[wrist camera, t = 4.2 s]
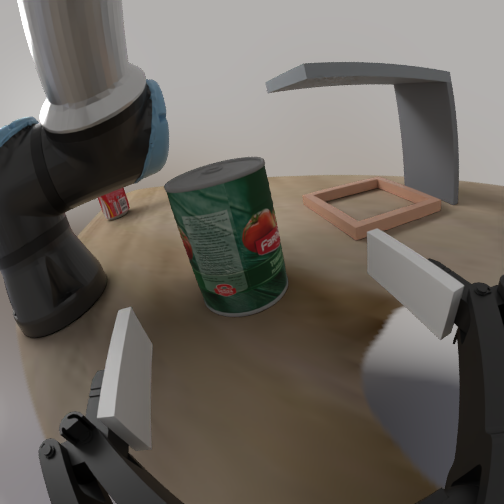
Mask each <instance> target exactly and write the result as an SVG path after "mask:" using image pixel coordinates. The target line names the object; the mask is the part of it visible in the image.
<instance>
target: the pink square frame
mask: <svg viewBox="0 0 504 504" xmlns="http://www.w3.org/2000/svg"><path fill="white" fill-rule="evenodd" d="M375 188H380V189H382V190H385V191H387V192H390V193H392V194H395V195H397V196H399V197H402V198H404V199H406V200H409V201H411V202H413V203H415V204H412V205H409V206H406V207H402V208H399V209H396V210H393V211H390V212H387V213H383V214H380V215H377V216H374V217H371V218H367V219H364V220H361V221H357V220H355V219H354V218H352V217H350V216H349V215H347V214H345V213H344V212H342V211H340V210H338V209H337V208H335V207H333V206H332V205H330V204H328V203H326V201H330V200H333V199H337V198H341V197H344V196H348V195H352V194H356V193H360V192H363V191H367V190H371V189H375ZM302 196H303V202H304V205H305V206H307V207H308V208H310V209H311V210H313V211H314V212H316V213H317V214H319V215H320V216H322V217H323V218H325V219H326V220H328V221H329V222H330V223H332V224H333V225H335V226H336V227H338V228H339V229H341V230H342V231H343V232H345V233H346V234H348V235H349V236H350V237H352V238H353V239H355V240H359V239H362V238H365V237H367V232H368V231H371V230H374V229H377V228H378V229H379V230H381V231H385V230H388V229H391V228H394V227H396V226H399V225H402V224H405V223H408V222H410V221H413V220H416V219H419V218H421V217H424V216H427V215H430V214H432V213H435V212H438V211H441V199H438V198H436V197H433V196H431V195H428V194H426V193H423V192H421V191H418V190H415V189H413V188H410V187H407V186H405V185H402V184H399V183H396V182H393V181H391V180H388V179H385V178H382V177H379V176H378V177H373V178H369V179H365V180H361V181H356V182H352V183H348V184H344V185H340V186H336V187H332V188H328V189H324V190H320V191H316V192H312V193H309V194H305V195H302Z"/></svg>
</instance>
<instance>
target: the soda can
mask: <svg viewBox="0 0 504 504" xmlns="http://www.w3.org/2000/svg"><path fill="white" fill-rule="evenodd" d="M98 200H99V203H100V205H101V208H102V211H103V213H104V215H105V217H106V218H107V219H110V220H113V219H117V218H119V217H121V216H123V215H125V214H126V213H127V212H128V210H129V208H130V207H129V203H128V200H127V197H126V194H125V191H124V188H121V189H118V190H115V191H113V192H110V193H108V194H105V195H103V196H101V197H98Z"/></svg>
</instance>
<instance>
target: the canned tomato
mask: <svg viewBox="0 0 504 504" xmlns="http://www.w3.org/2000/svg"><path fill="white" fill-rule="evenodd" d="M264 165H265V162H264V159H263V158H260V157H245V158H237V159H230V160H225V161H221V162H217V163H213V164H209V165H206V166H203V167H199V168H196V169H194V170H191V171H188V172H186V173H184V174H181V175H179V176H177V177H175V178H173V179H171V180H170V181H168V182H167V183H166V184H165V186H164V188H165V190H166V192H167V195H168V198H169V202H170V205H171V209H172V211H173V214H174V218H175V220H176V223H177V227H178V229H179V232H180V235H181V238H182V240H183V244H184V247H185V249H186V252H187V255H188V257H189V261H190V263H191V266H192V269H193V272H194V274H195V278H196V280H197V282H198V285H199V288H200V290H201V292H202V295H203V297H204V302H205V304H206V306H207V307H208V308H209V309H210V310H211V311H213V312H214V313H216V314H219V315H222V316H229V317H241V316H247V315H252V314H255V313H258V312H261V311H263V310H265V309H267V308H269V307H271V306H272V305H274V304H275V303H276V302H277V301H279V300H280V299H281V298H282V296H283V295H284V294H285V292H286V290H287V288H288V277H287V275H286V270H285V263H284V259H283V252H282V247H281V243H280V237H279V231H278V227H277V221H276V217H275V211H274V208H273V201H272V198H271V192H270V189H269V182H268V179H267V175H266V170H265V166H264Z"/></svg>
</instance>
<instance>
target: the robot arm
mask: <svg viewBox="0 0 504 504" xmlns="http://www.w3.org/2000/svg"><path fill="white" fill-rule="evenodd" d="M18 4H19V9H20V14H21V18H22V22H23V26H24V30H25V34H26V37H27V41H28V45H29V48H30V51H31V55H32V57H33V61H34V64H35V67H36V70H37V73H38V75H39V78H40V81H41V84H42V87H43V89H44V92H45V94H46V97H47V98H46V100H45V102H44V104H43V106H42V109H41V112H40V121H41V122H40V123H39V122H38V121H37V120H36V119H35V118H34V117H24V118H21V119H18V120H15V121H13V122H12V123H11V124H10V125H8V126H7V125H5V126H3V127H2V128H0V271H1V273H2V275H3V279H4V283H5V286H6V290H7V293H8V297H9V300H10V303H11V305H12V308H13V315H14V319H15V321H16V322H17V324H18V325H19V327H20V328H21V330H22V331H23V333H24V334H25V335H26V336H29V337H41V336H45V335H48V334H51V333H53V332H55V331H58V330H60V329H61V328H63V327H65V326H67V325H68V324H70V323H71V322H73V321H74V320H75V319H77V318H78V317H79V316H81V315H82V314H83V313H84V312H85V311H86V310H87V309H89V308H90V307H91V306H92V305H93V303H94V302H95V301H96V300H97V299H98V298H99V296H100V295H101V293H102V292H103V290H104V288H105V286H106V283H107V276H106V274H105V272H104V270H103V268H102V266H101V264H100V262H99V261H98V260H97V259H96V258H95V257H94V255H93V254H92V253H91V252H90V251H89V250H88V249H87V248H86V247H85V245H84V244H83V243H82V242H81V241H80V240H79V239H78V237H77V236H76V235H75V234H74V233H73V231H72V229H71V227H70V225H69V222H68V220H67V217H66V215H65V212H67V211H69V210H70V209H73V208H75V207H77V206H80V205H82V204H84V203H86V202H89V201H91V200H93V199H96V198H98V197H101V196H103V195H105V194H108V193H110V192H113V191H115V190H118V189H121V188H123V187H126V186H128V185H131V184H134V183H138V182H139V181H140V180H141V179H143V178H146V177H148V176H150V175H152V174H155V173H157V172H158V171H160V170H161V169H162V168H163V166H164V165H165V163H166V160H167V157H168V151H169V129H168V122H167V120H166V107H165V102H164V98H163V95H162V91H161V89H160V87H159V85H158V84H157V82H155V81H154V80H148V79H146V77H145V73H144V72H143V70H142V69H141V68H139V67H137V66H135V65H133V64H131V63H128V56H127V49H126V41H125V31H124V22H123V10H122V0H18ZM367 273H368V274H369V275H370V276H371V277H372V278H374V279H375V280H376V281H377V282H378V283H379V284H380V285H382V286H383V287H384V288H385V289H386V290H387V291H388V292H389V293H391V294H392V295H393V296H394V297H395V298H396V299H397V300H398V301H399V302H400V303H402V304H403V305H404V306H405V307H406V308H407V309H408V310H409V311H410V312H412V314H414V315H415V316H416V317H417V318H418V319H419V320H420V321H421V322H422V323H423V324H424V325H425V326H426V327H427V328H428V329H429V330H430V331H431V332H433V333H434V334H435V335H436V336H437V337H438V338H439V339H440V340H441V339H443V338H444V337H446V336H447V335H448V334H450V333H451V331H452V328H453V325H454V323H455V324H456V325H457V326H458V329H457V332H456V335H455V337H454V340H453V344H455V342H456V340H457V341H458V354H459V375H460V401H459V403H460V404H459V423H458V435H457V445H456V453H455V459H454V463H453V465H452V467H451V469H450V471H449V474H448V477H447V481H446V485H445V489H442V488H440V489H439V490H437V491H436V492H434V493H432V494H430V495H429V496H427V497H425V498H424V499H422V500H420V501H418V502H417V503H415V504H504V275H502V276H501V278H500V281H499V284H498V285H496V286H493V287H489V286H488V285H486V284H484V283H480V282H478V283H473V284H470V283H469V282H468V281H466V280H465V279H463V278H462V277H460V276H459V275H458V274H456V273H455V272H453V271H451V270H450V269H449V268H446V266H444V265H443V264H441V263H440V262H438V261H435V260H432V259H426V258H424V257H423V256H421V255H420V254H418V253H416V252H415V251H413V250H412V249H410V248H409V247H407V246H406V245H404V244H402V243H401V242H399V241H398V240H396V239H394V238H393V237H391V236H389V235H388V234H386V233H384V232H383V231H381V230H379V229H378V228H377V229H374V230H371V231H368V232H367ZM152 347H153V344H152V343H151V341H150V339H149V338H148V336H147V334H146V332H145V331H144V329H143V327H142V325H141V324H140V322H139V320H138V318H137V317H136V315H135V313H134V311H133V309H132V307H128V308H124V309H121V310H118V314H117V318H116V322H115V325H114V330H113V334H112V338H111V342H110V347H109V351H108V356H107V361H106V366H105V370H100V371H97V373H96V375H95V376H94V378H93V380H92V384H91V391H90V394H89V397H90V398H89V400H88V405H87V411H86V417H85V416H83V415H82V414H81V413H80V412H76V411H75V412H70V413H69V414H67V415H66V416H65V417H64V418H63V419H62V421H61V423H60V428H59V431H60V434H61V436H63V437H64V438H65V439H66V440H68V441H66V442H64V443H61V444H60V443H59V442H57V441H56V440H55V439H51V438H50V439H46V440H45V441H44V442H43V443H42V444H41V446H40V449H39V459H40V464H41V468H42V472H43V477H44V480H45V484H46V488H47V491H48V494H49V498H50V501H51V504H113V503H112V501H111V499H110V497H109V495H110V496H111V497H112V499H113V500H114V501H115V502H116V503H117V504H184V503H183V502H182V501H180V500H179V499H178V498H177V497H175V496H174V495H173V494H172V493H171V492H170V491H168V490H167V489H166V488H165V487H164V486H163V485H162V484H161V483H159V482H158V481H157V480H156V479H155V478H154V477H153V476H152V475H151V474H150V473H149V472H148V471H147V470H146V469H145V468H144V467H143V466H142V465H141V464H140V463H139V462H138V461H137V460H136V459H135V458H134V457H133V456H132V455H131V454H129V453H128V447H129V446H130V447H131V448H133V449H134V450H135V451H139V450H149V449H152V443H151V369H152ZM108 494H109V495H108Z"/></svg>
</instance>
